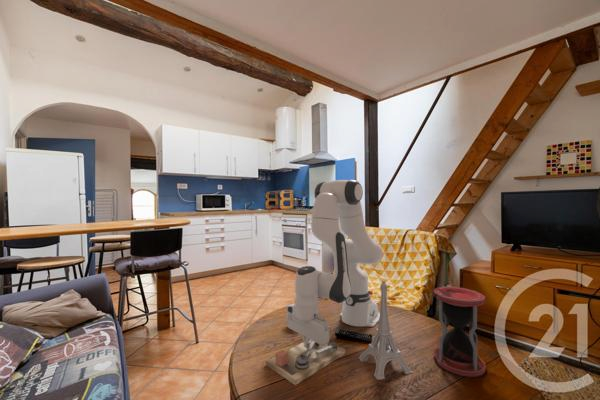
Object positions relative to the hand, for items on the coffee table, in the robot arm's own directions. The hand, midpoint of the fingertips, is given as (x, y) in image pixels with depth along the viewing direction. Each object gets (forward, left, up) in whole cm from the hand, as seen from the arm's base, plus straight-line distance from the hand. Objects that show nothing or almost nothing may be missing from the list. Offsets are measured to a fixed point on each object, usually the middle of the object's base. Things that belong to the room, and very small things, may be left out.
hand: (307, 347), depth 105 cm
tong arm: (+2, +3, -1) cm, 3 cm away
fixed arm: (+1, +7, -1) cm, 7 cm away
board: (+2, +2, -3) cm, 4 cm away
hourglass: (-35, +42, -3) cm, 54 cm away
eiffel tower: (-15, +24, -3) cm, 28 cm away
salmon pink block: (+13, 0, -1) cm, 13 cm away
